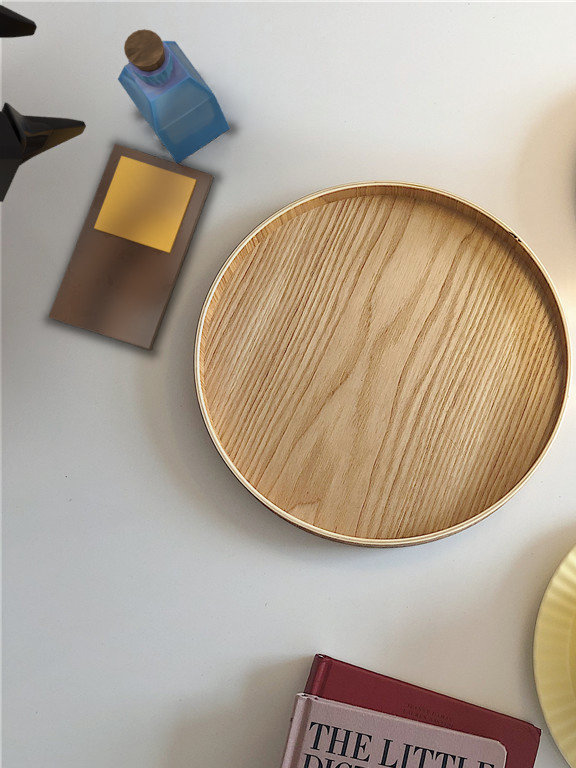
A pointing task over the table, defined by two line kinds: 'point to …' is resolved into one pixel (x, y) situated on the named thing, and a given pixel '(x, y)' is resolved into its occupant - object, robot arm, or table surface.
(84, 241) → the stand
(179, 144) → the perfume bottle
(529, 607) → the table surface
